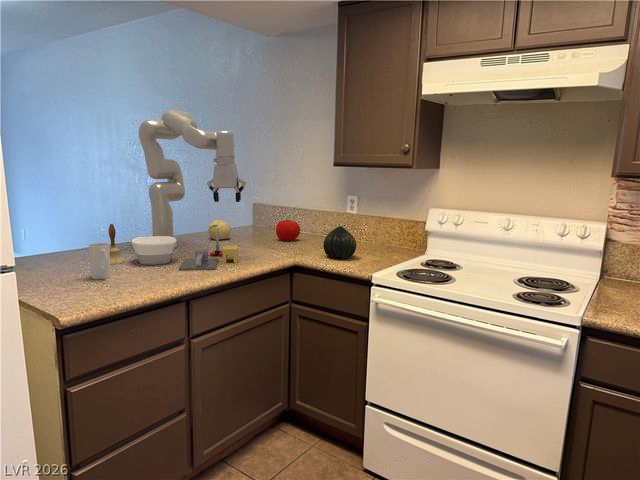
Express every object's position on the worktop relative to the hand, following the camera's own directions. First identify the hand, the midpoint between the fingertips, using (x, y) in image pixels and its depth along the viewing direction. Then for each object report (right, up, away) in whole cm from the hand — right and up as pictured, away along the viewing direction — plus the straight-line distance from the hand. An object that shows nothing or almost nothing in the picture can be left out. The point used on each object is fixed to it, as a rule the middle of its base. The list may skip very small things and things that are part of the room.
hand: (227, 201), depth 192 cm
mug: (-39, -30, -31) cm, 58 cm away
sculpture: (-15, -16, +53) cm, 57 cm away
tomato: (+22, -17, +55) cm, 61 cm away
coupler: (-10, -27, -7) cm, 29 cm away
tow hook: (-6, -23, +14) cm, 28 cm away
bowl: (-30, -26, -3) cm, 39 cm away
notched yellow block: (+1, -25, +1) cm, 26 cm away
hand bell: (-45, -26, -7) cm, 53 cm away
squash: (+48, -25, +15) cm, 56 cm away
